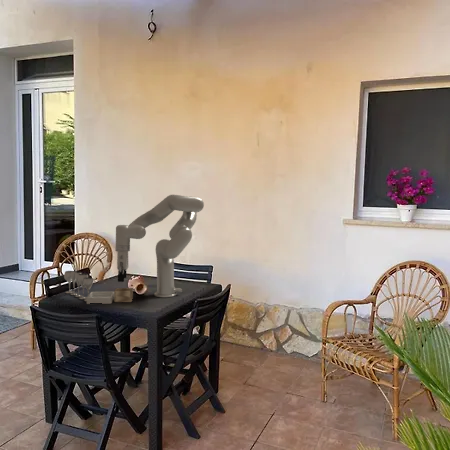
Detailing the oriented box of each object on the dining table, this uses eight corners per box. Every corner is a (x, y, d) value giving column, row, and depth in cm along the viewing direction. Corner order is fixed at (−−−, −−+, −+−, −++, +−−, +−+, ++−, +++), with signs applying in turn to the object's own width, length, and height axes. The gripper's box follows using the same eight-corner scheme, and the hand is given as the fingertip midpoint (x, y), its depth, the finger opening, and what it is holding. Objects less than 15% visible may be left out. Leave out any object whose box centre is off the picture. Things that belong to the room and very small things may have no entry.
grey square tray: (114, 297, 252) (114, 291, 252) (111, 303, 240) (111, 297, 240) (91, 297, 251) (91, 291, 251) (86, 303, 239) (86, 297, 238)
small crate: (132, 298, 250) (132, 288, 250) (131, 302, 244) (131, 291, 243) (116, 298, 249) (116, 288, 249) (114, 302, 243) (114, 291, 242)
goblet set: (95, 300, 244) (95, 275, 243) (85, 302, 240) (85, 277, 239) (72, 290, 264) (71, 268, 263) (62, 292, 260) (62, 269, 259)
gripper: (127, 250, 235) (127, 283, 237) (131, 246, 252) (131, 276, 254) (113, 250, 235) (112, 283, 236) (117, 245, 252) (117, 276, 253)
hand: (122, 279), depth 245 cm, fingers open, 9 cm apart
